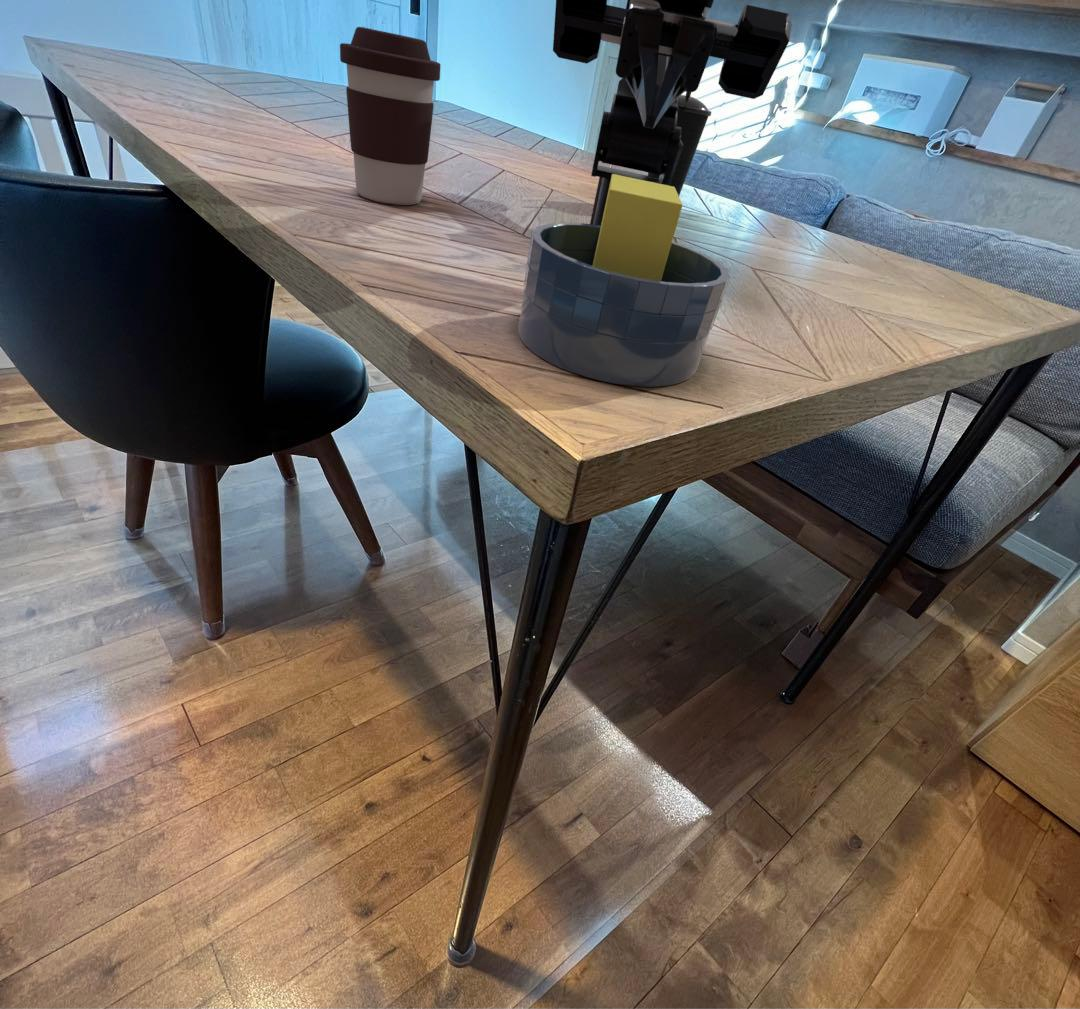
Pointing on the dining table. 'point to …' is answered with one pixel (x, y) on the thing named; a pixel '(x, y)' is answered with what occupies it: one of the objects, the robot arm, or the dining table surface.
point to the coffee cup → (389, 113)
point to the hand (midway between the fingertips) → (649, 123)
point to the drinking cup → (688, 135)
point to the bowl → (617, 310)
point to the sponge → (637, 227)
